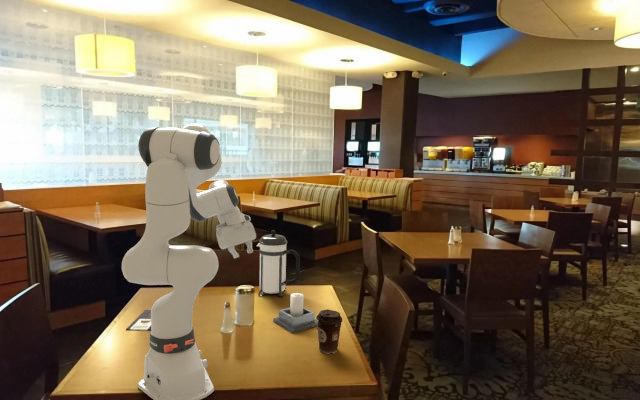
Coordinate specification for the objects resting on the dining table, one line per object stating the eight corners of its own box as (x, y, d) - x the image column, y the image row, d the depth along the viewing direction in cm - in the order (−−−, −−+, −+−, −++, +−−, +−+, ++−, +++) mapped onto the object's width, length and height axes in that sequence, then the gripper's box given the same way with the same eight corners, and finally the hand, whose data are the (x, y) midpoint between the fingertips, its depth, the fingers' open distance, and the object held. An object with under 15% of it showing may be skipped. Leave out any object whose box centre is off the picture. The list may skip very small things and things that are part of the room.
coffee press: (267, 301, 185) (268, 234, 181) (250, 291, 198) (251, 228, 194) (300, 294, 195) (301, 231, 192) (282, 285, 208) (283, 225, 204)
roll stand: (320, 324, 162) (320, 313, 161) (292, 333, 154) (292, 320, 153) (300, 314, 172) (300, 303, 171) (273, 321, 164) (273, 309, 163)
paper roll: (305, 320, 162) (306, 295, 161) (294, 323, 159) (295, 298, 158) (298, 316, 166) (298, 292, 165) (287, 319, 163) (288, 294, 162)
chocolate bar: (167, 310, 170) (151, 329, 152) (167, 312, 170) (151, 331, 152) (145, 309, 170) (126, 328, 152) (145, 312, 170) (126, 331, 152)
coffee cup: (318, 357, 136) (320, 318, 135) (312, 345, 144) (313, 309, 143) (344, 354, 139) (345, 316, 137) (336, 343, 147) (337, 307, 145)
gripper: (221, 222, 150) (234, 258, 149) (252, 215, 169) (264, 247, 168) (208, 228, 153) (221, 263, 152) (240, 221, 172) (251, 252, 171)
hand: (244, 255), depth 160 cm, fingers open, 8 cm apart
